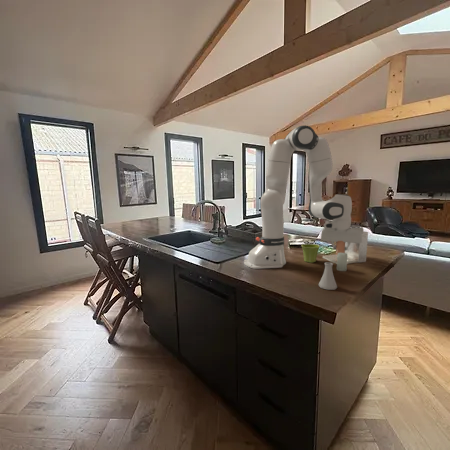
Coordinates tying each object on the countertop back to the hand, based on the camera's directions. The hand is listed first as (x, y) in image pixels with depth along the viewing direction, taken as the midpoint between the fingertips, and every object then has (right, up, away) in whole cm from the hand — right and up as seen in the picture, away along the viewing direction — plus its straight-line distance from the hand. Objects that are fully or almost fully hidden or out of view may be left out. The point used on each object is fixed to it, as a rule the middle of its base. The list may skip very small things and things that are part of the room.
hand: (340, 249), depth 139 cm
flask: (-21, -12, -34) cm, 41 cm away
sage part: (-6, -8, -14) cm, 17 cm away
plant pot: (-16, -7, 0) cm, 18 cm away
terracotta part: (0, -3, 0) cm, 3 cm away
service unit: (+3, -6, +2) cm, 6 cm away
